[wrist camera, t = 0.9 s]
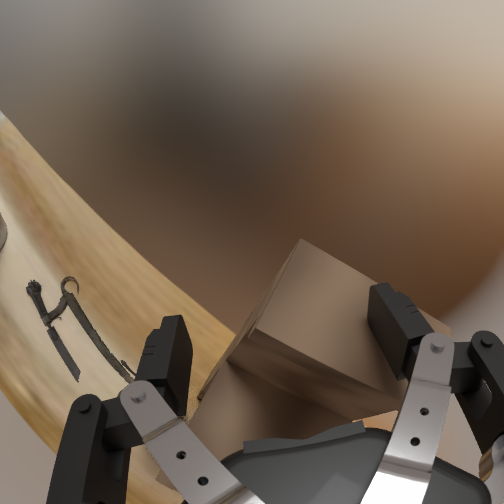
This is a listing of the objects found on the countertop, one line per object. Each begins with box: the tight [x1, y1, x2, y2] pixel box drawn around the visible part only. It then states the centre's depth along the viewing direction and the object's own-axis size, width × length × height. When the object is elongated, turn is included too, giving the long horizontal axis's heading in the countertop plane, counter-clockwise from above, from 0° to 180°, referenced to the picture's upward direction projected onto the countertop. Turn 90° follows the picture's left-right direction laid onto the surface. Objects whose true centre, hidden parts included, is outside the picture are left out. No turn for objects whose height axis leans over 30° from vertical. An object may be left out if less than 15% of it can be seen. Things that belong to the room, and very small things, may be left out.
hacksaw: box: [26, 276, 136, 397], centre depth 33 cm, size 24×10×2 cm, turn 44°
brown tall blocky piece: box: [156, 239, 451, 493], centre depth 21 cm, size 10×13×27 cm
